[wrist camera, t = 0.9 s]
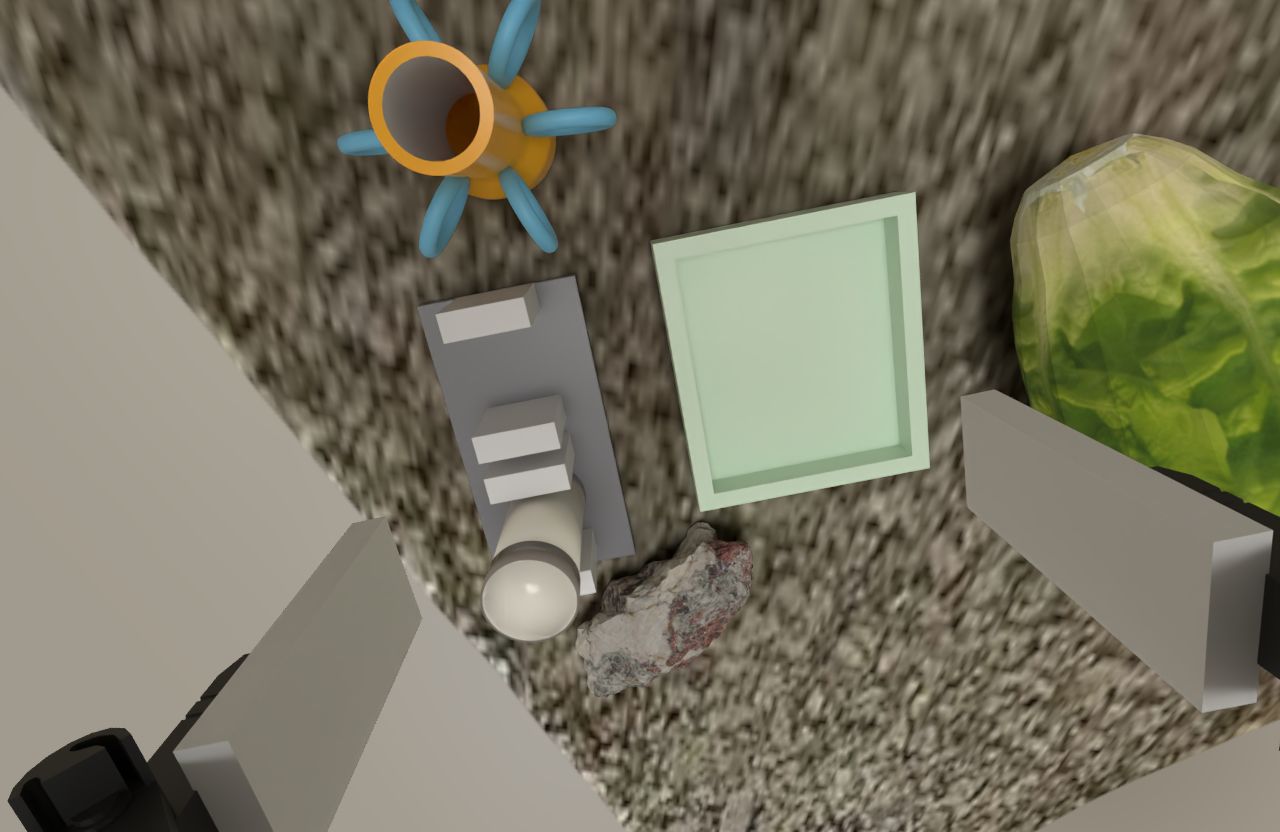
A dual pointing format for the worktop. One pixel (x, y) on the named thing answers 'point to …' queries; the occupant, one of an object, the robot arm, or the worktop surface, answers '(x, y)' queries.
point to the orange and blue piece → (468, 122)
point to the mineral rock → (665, 612)
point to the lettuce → (1155, 310)
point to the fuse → (537, 566)
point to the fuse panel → (529, 408)
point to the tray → (798, 349)
